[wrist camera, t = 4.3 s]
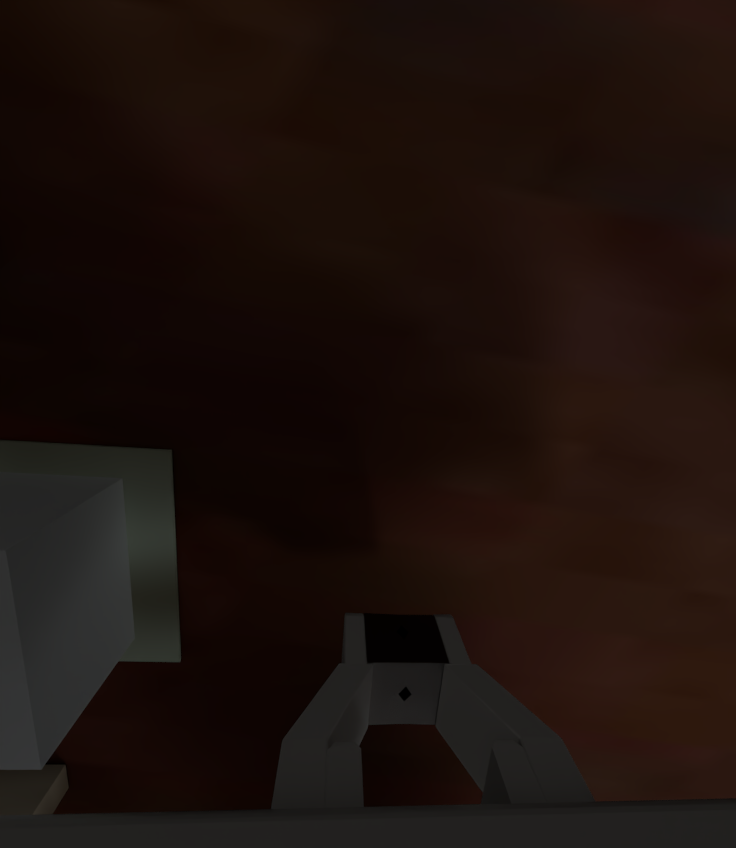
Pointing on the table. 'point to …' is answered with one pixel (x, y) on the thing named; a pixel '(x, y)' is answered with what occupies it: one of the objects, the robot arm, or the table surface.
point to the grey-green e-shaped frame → (147, 562)
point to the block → (58, 605)
